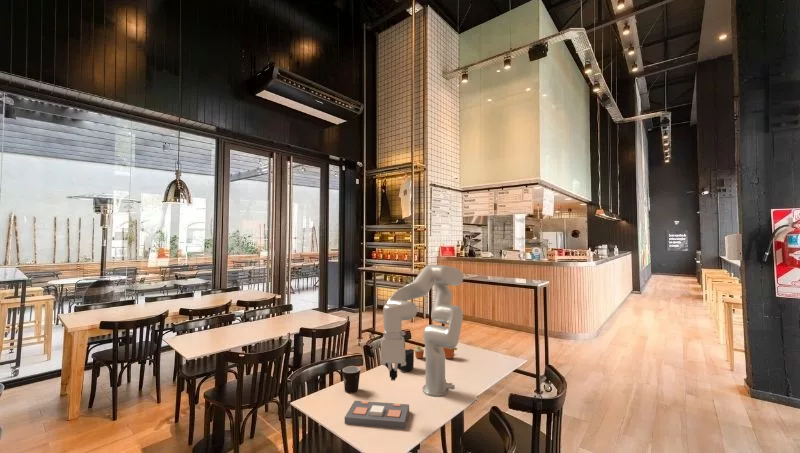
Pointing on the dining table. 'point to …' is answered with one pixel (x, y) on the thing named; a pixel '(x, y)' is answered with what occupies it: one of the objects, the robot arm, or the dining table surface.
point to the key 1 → (360, 411)
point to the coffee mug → (351, 378)
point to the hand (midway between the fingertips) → (393, 379)
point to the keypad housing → (378, 420)
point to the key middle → (377, 411)
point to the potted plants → (448, 352)
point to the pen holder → (408, 361)
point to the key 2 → (394, 413)
